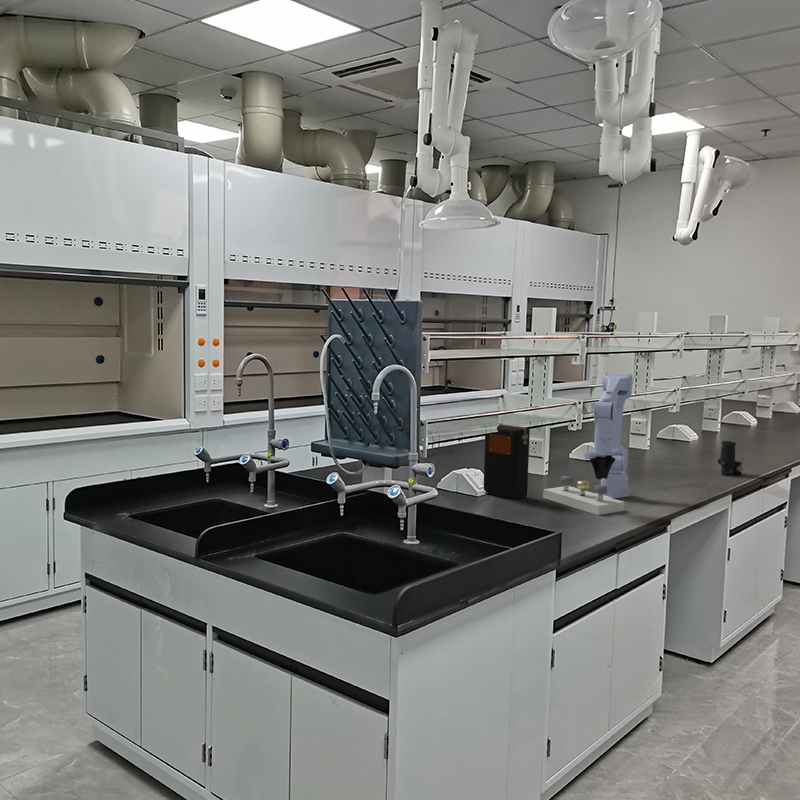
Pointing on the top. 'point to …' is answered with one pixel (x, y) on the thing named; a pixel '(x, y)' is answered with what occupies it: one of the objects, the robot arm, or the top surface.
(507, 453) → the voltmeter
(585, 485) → the pot knob
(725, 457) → the scope
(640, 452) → the top surface
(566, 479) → the knob
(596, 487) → the knob
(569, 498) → the mount plate
